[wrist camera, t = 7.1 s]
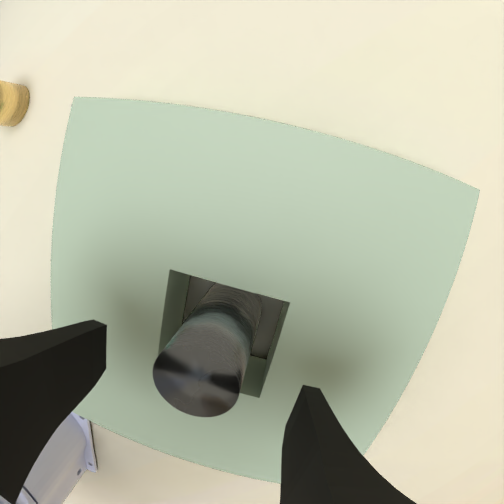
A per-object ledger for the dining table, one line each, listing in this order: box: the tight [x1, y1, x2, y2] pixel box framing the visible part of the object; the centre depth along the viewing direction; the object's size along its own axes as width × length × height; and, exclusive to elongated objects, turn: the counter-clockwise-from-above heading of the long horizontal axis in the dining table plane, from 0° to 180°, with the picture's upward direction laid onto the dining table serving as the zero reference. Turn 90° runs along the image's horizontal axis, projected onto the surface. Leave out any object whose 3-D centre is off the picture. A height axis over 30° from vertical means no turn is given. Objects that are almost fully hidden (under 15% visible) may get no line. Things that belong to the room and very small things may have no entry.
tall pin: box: [153, 283, 262, 417], centre depth 13 cm, size 3×3×7 cm
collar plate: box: [51, 97, 480, 484], centre depth 15 cm, size 18×18×4 cm
